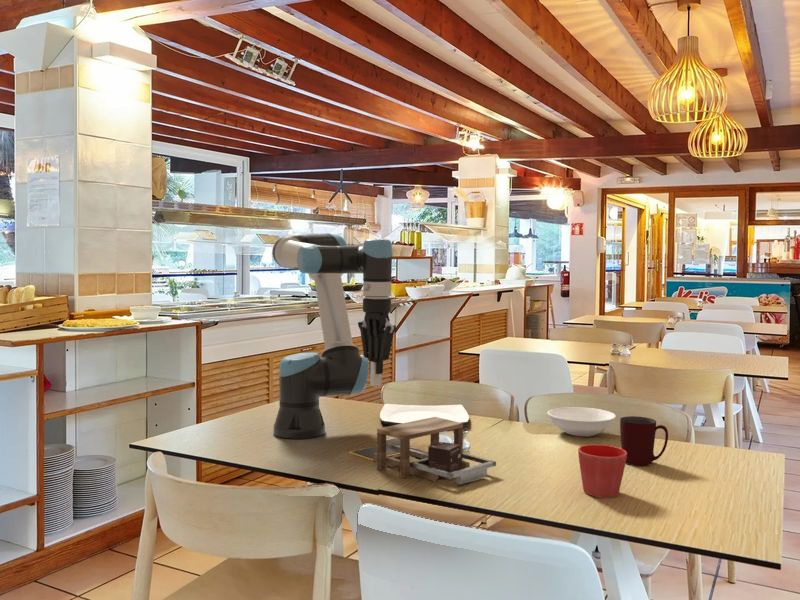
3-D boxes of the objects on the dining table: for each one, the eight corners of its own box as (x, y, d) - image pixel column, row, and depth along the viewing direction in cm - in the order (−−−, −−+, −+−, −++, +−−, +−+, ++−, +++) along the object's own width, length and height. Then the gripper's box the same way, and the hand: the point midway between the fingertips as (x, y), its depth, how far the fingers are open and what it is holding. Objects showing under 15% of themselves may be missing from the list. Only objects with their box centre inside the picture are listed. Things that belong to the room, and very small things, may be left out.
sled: (367, 460, 193) (367, 443, 193) (412, 449, 204) (412, 433, 204) (450, 487, 172) (450, 467, 172) (495, 473, 183) (496, 455, 182)
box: (449, 480, 179) (449, 450, 178) (427, 476, 182) (427, 446, 181) (461, 474, 184) (461, 444, 184) (439, 470, 187) (439, 441, 187)
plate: (472, 431, 229) (472, 422, 229) (377, 430, 229) (377, 421, 229) (465, 411, 257) (465, 403, 257) (381, 410, 258) (381, 402, 258)
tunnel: (361, 464, 192) (361, 424, 191) (418, 450, 205) (419, 413, 205) (422, 484, 175) (422, 440, 175) (480, 467, 189) (480, 427, 189)
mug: (671, 463, 195) (672, 420, 194) (661, 471, 188) (663, 427, 187) (625, 455, 202) (626, 414, 201) (614, 463, 194) (615, 420, 194)
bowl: (591, 425, 237) (591, 405, 237) (629, 440, 218) (630, 418, 218) (534, 429, 231) (535, 408, 231) (569, 445, 212) (569, 423, 212)
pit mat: (348, 452, 202) (348, 451, 202) (381, 445, 210) (381, 444, 210) (372, 460, 195) (372, 459, 195) (406, 452, 203) (406, 451, 203)
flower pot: (636, 495, 169) (637, 452, 169) (602, 503, 163) (603, 459, 163) (600, 482, 178) (601, 441, 177) (566, 490, 172) (567, 448, 172)
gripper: (350, 296, 202) (349, 383, 204) (382, 299, 193) (381, 391, 195) (371, 295, 207) (370, 380, 209) (404, 298, 198) (402, 387, 200)
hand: (375, 385), depth 202 cm, fingers closed
